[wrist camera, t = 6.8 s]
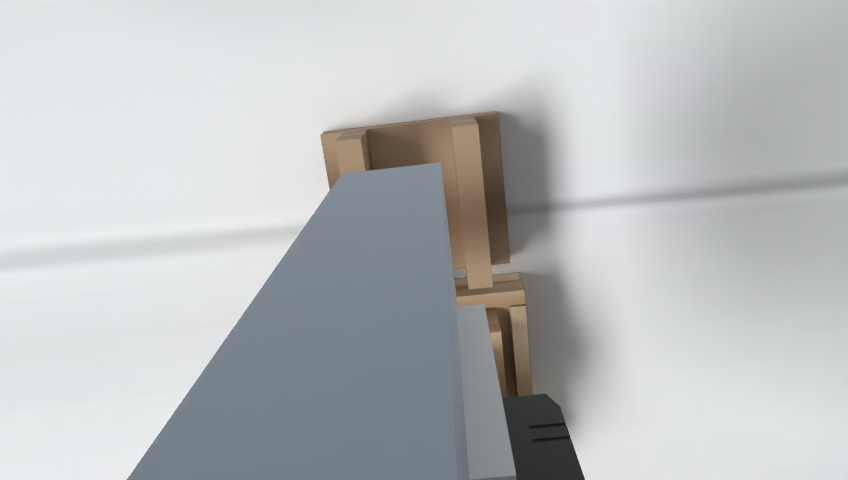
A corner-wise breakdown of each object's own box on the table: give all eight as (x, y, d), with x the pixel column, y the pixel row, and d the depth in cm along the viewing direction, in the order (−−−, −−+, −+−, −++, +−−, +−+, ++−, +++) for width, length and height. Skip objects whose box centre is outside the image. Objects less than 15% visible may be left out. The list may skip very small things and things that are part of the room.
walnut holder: (323, 131, 32) (308, 144, 28) (495, 111, 31) (504, 121, 27) (348, 273, 34) (337, 303, 30) (507, 256, 34) (517, 284, 30)
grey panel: (341, 174, 18) (3, 657, 4) (441, 162, 18) (464, 624, 4) (383, 428, 21) (275, 1253, 7) (470, 420, 21) (547, 1247, 7)
